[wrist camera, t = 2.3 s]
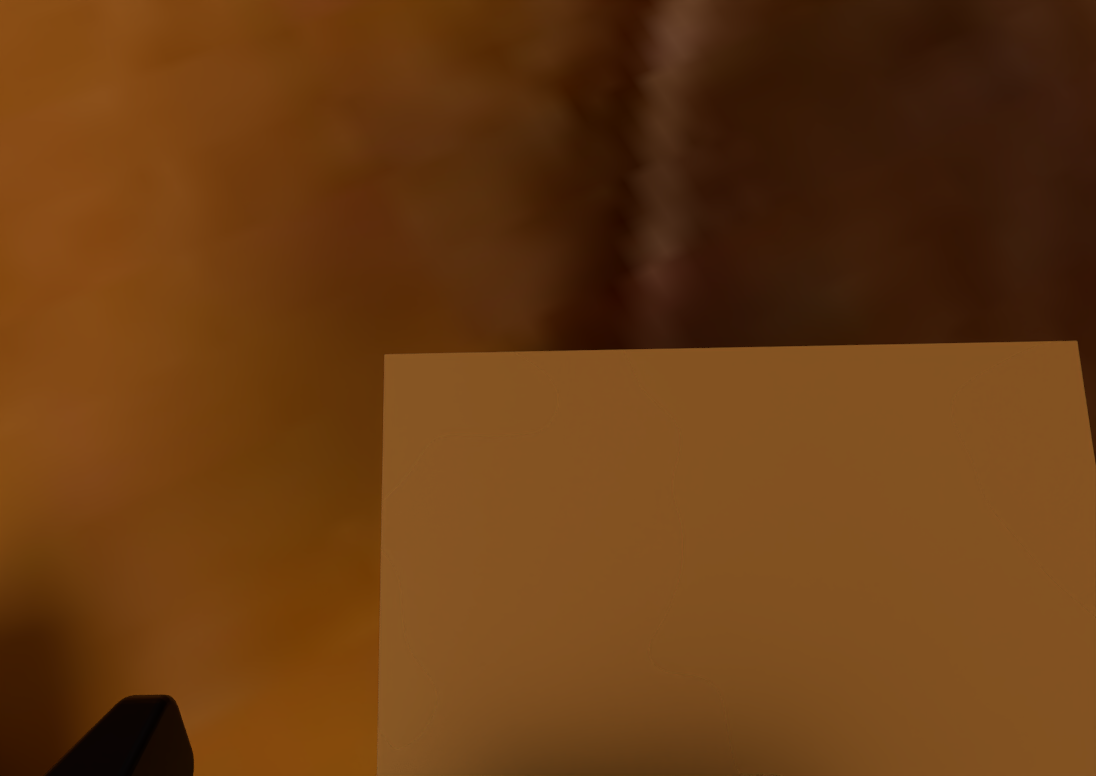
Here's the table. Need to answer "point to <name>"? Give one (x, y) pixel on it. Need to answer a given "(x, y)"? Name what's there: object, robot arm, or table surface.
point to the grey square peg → (738, 562)
